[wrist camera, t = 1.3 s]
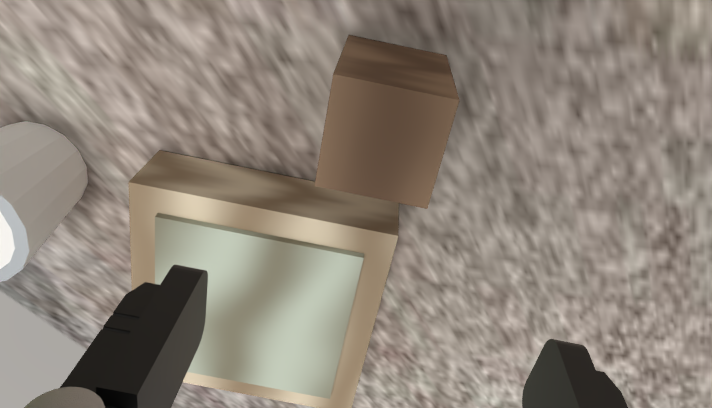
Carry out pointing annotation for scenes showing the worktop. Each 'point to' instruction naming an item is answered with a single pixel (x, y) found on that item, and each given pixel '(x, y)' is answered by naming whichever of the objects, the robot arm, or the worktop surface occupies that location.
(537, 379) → the robot arm
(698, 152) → the worktop surface
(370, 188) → the walnut block
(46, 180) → the white cup
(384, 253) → the plinth
